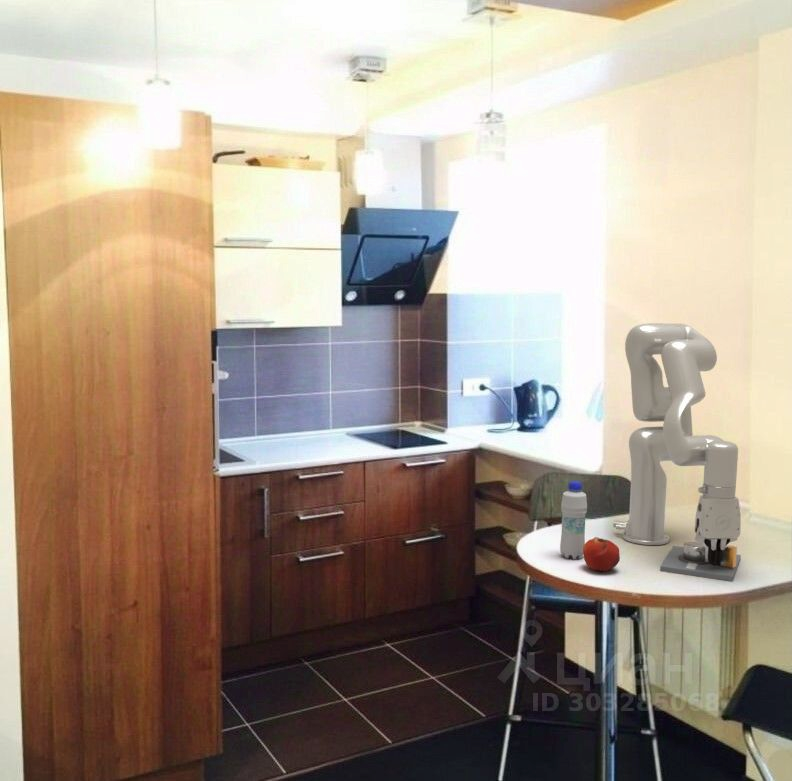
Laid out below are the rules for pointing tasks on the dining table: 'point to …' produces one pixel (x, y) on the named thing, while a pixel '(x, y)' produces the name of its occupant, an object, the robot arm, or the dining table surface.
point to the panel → (696, 566)
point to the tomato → (601, 554)
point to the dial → (700, 553)
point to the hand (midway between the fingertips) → (714, 564)
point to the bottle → (573, 521)
